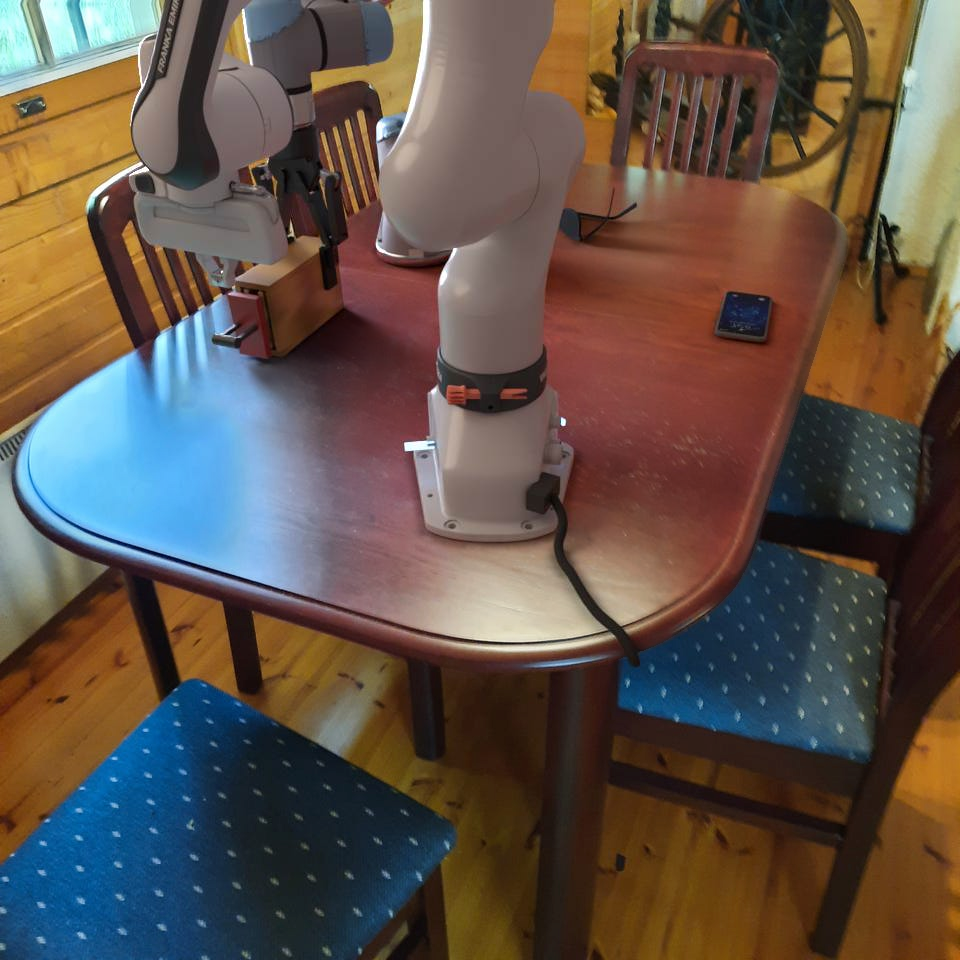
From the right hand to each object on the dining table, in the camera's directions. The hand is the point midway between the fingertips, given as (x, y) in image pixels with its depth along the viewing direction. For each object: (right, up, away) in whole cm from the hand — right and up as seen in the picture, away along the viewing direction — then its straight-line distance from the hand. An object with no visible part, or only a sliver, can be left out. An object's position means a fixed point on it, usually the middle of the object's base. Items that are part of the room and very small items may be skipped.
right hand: (223, 285), depth 111 cm
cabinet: (+6, -2, +18) cm, 19 cm away
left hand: (+8, +5, +19) cm, 21 cm away
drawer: (+4, -5, +13) cm, 14 cm away
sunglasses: (+55, +23, +50) cm, 77 cm away
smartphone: (+73, -1, +17) cm, 75 cm away
